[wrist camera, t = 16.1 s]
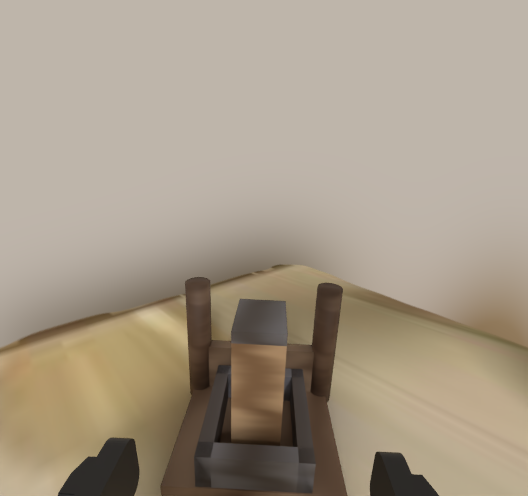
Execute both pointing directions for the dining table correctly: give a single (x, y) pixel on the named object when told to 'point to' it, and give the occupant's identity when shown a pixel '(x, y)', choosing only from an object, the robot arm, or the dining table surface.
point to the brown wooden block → (258, 371)
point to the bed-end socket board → (293, 415)
